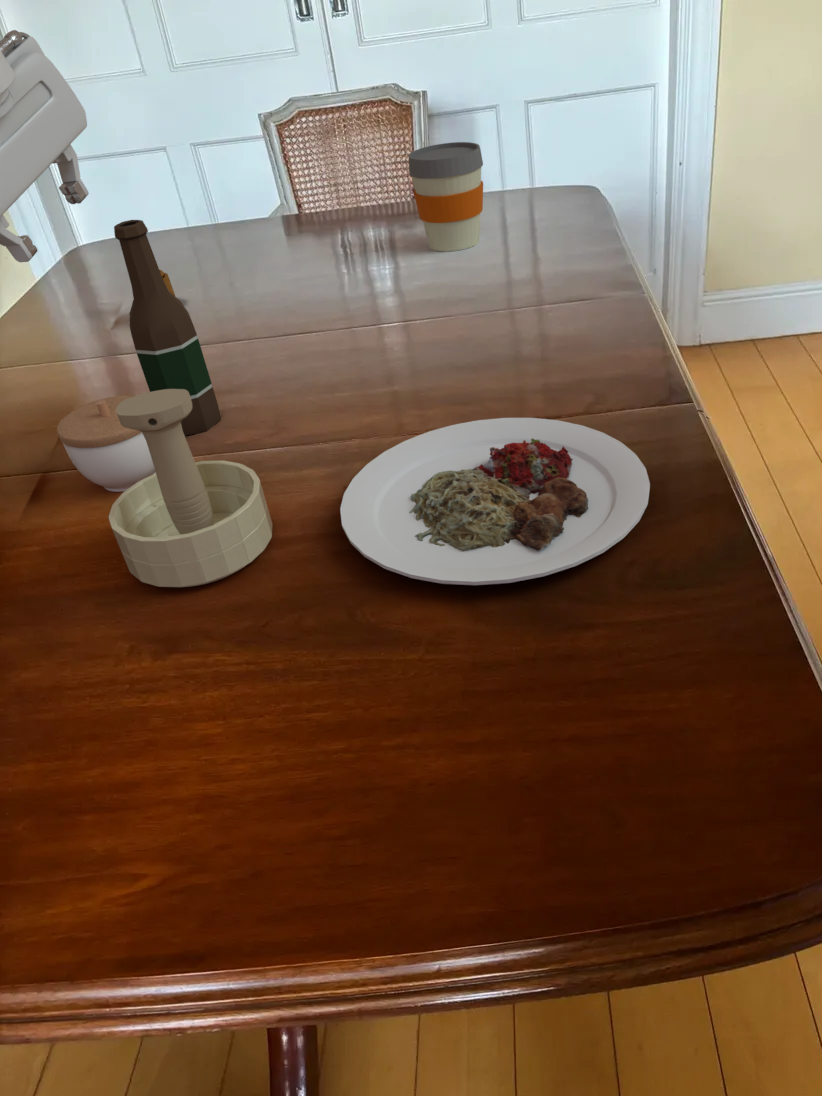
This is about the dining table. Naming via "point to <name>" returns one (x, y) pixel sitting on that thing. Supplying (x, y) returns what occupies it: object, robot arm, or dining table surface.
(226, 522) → the bowl
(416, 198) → the reusable coffee cup
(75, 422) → the trinket box
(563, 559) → the plated food
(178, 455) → the handle
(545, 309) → the dining table surface
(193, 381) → the beer bottle
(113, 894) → the dining table surface
